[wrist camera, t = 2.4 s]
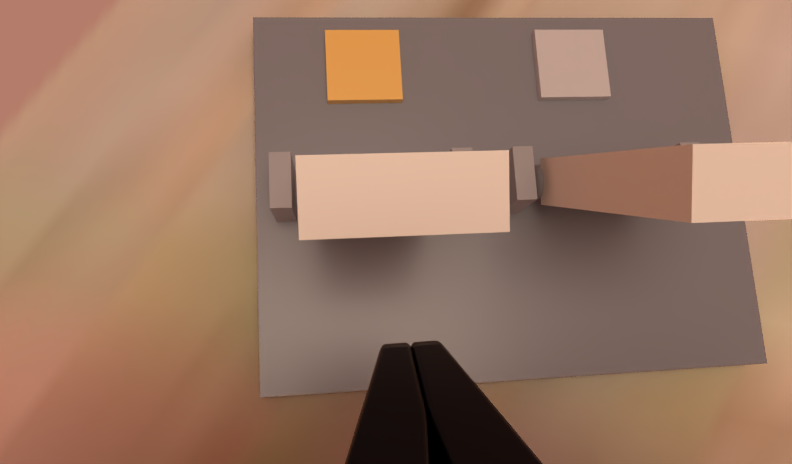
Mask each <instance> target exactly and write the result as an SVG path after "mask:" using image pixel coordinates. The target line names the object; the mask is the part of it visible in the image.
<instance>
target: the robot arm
mask: <svg viewBox="0 0 792 464" xmlns="http://www.w3.org/2000/svg"><path fill="white" fill-rule="evenodd" d="M345 464H542V463H541V461H540V460H539V459H538V458H537V457H536V455H535V454H534V453H533V452H532V451H531V449H530V448H529V447H528V446H527V445H526V443H525V442H524V441H523V440H522V439H521V437H520V436H519V435H518V434H517V433H516V431H515V430H514V429H513V428H512V427H511V425H510V424H509V423H508V422H507V421H506V420H505V418H504V417H503V416H502V415H501V414H500V412H499V411H498V410H497V409H496V408H495V406H494V405H493V404H492V403H491V402H490V400H489V399H488V398H487V397H486V396H485V394H484V393H483V392H482V391H481V390H480V388H479V387H478V386H477V385H476V384H475V382H474V381H473V380H472V379H471V378H470V376H469V375H468V374H467V373H466V372H465V371H464V369H463V368H462V367H461V366H460V365H459V363H458V362H457V361H456V360H455V359H454V357H453V356H452V355H451V354H450V353H449V351H448V350H447V349H446V348H445V347H444V345H443V344H442V343H441V342H439V341H421V342H414V343H413V344H412V345H411V346H410V345H409V344H408V343H392V344H384V345H382V347H381V348H380V351H379V354H378V357H377V361H376V364H375V367H374V370H373V374H372V377H371V380H370V384H369V387H368V390H367V393H366V397H365V400H364V403H363V406H362V410H361V413H360V416H359V419H358V423H357V426H356V429H355V432H354V436H353V439H352V442H351V445H350V449H349V452H348V455H347V459H346V462H345Z"/></svg>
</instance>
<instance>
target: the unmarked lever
mask: <svg viewBox="0 0 792 464" xmlns="http://www.w3.org/2000/svg"><path fill="white" fill-rule="evenodd" d="M534 167H535V177H536V188H537V198H541V205H548V206H556V207H564V208H572V209H580V210H589V211H597V212H605V213H613V214H622V215H630V216H638V217H646V218H654V219H663V220H671V221H679V222H687V223H704V222H730V221H755V220H781V219H792V142H759V143H717V144H688V145H678V146H667V147H657V148H646V149H636V150H625V151H615V152H604V153H594V154H583V155H573V156H562V157H552V158H541V165H535V166H534Z"/></svg>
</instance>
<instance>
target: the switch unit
mask: <svg viewBox="0 0 792 464" xmlns="http://www.w3.org/2000/svg"><path fill="white" fill-rule="evenodd" d="M253 33H254V89H255V145H256V202H257V258H258V314H259V370H260V398H263V397H278V396H293V395H308V394H322V393H337V392H352V391H366V390H368V387H369V384H370V380H371V377H372V374H373V370H374V367H375V364H376V361H377V357H378V354H379V351H380V348H381V347H382V345H384V344H392V343H408V344H409V345H410V346H411V345H412V344H413V343H414V342H421V341H439V342H441V343H442V344H443V345H444V347H445V348H446V349H447V350H448V351H449V353H450V354H451V355H452V356H453V357H454V359H455V360H456V361H457V362H458V363H459V365H460V366H461V367H462V368H463V369H464V371H465V372H466V373H467V374H468V375H469V376H470V378H471V379H472V380H473V381H474V382H475V383H484V382H499V381H514V380H528V379H543V378H558V377H572V376H587V375H602V374H617V373H631V372H646V371H661V370H675V369H690V368H705V367H720V366H734V365H749V364H764V363H767V360H766V353H765V347H764V341H763V334H762V328H761V322H760V315H759V309H758V303H757V296H756V290H755V284H754V277H753V271H752V264H751V258H750V252H749V245H748V239H747V233H746V226H745V221H730V222H704V223H687V222H679V221H671V220H663V219H654V218H646V217H638V216H630V215H622V214H613V213H605V212H597V211H589V210H580V209H572V208H564V207H556V206H548V205H541V198H537V188H536V177H535V167H534V166H535V165H541V158H552V157H562V156H573V155H583V154H594V153H604V152H615V151H625V150H636V149H646V148H657V147H667V146H678V145H688V144H717V143H732V138H731V131H730V125H729V119H728V112H727V106H726V100H725V93H724V87H723V80H722V74H721V68H720V61H719V55H718V49H717V42H716V36H715V30H714V23H713V18H253ZM495 150H509V200H510V232H495V233H470V234H444V235H419V236H394V237H369V238H343V239H318V240H299V229H298V206H297V184H296V161H295V155H328V154H370V153H411V152H453V151H495Z"/></svg>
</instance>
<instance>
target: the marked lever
mask: <svg viewBox="0 0 792 464" xmlns="http://www.w3.org/2000/svg"><path fill="white" fill-rule="evenodd" d="M295 161H296V184H297V206H298V229H299V240H318V239H343V238H369V237H394V236H419V235H444V234H470V233H495V232H510V200H509V150H495V151H453V152H411V153H370V154H328V155H295Z"/></svg>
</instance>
